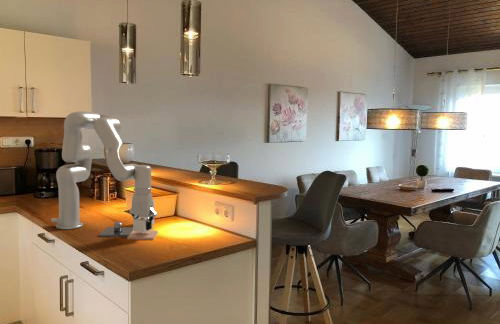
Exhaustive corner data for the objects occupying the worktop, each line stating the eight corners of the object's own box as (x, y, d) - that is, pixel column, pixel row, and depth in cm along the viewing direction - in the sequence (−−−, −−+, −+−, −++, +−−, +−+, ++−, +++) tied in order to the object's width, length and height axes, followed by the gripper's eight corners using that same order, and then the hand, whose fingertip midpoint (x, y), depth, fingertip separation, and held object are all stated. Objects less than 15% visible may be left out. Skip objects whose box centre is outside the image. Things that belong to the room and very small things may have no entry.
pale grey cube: (133, 230, 197) (133, 218, 197) (142, 227, 203) (142, 215, 203) (143, 232, 195) (143, 219, 194) (152, 229, 200) (152, 216, 200)
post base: (98, 236, 196) (98, 226, 195) (107, 229, 210) (107, 219, 209) (129, 237, 197) (129, 226, 196) (135, 229, 211) (135, 219, 210)
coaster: (127, 239, 193) (127, 237, 193) (132, 232, 205) (132, 230, 205) (153, 239, 194) (153, 237, 194) (157, 232, 206) (157, 230, 205)
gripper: (123, 190, 198) (123, 227, 199) (152, 194, 190) (152, 232, 192) (134, 188, 204) (134, 224, 206) (162, 192, 197) (162, 229, 198)
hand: (142, 228), depth 199 cm, fingers closed on pale grey cube, 6 cm apart
